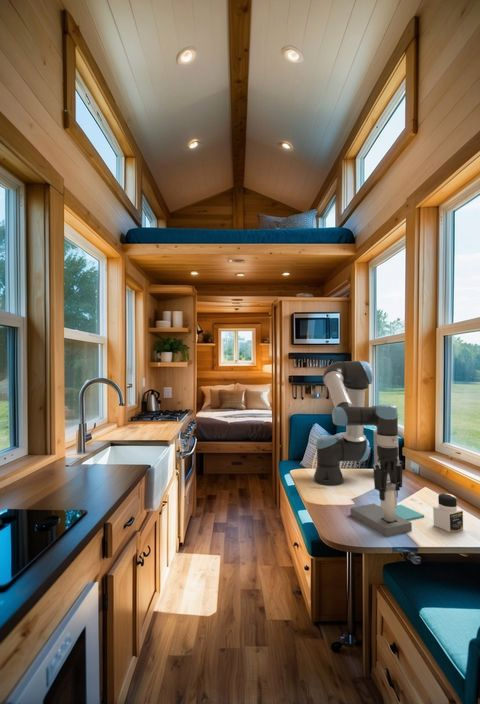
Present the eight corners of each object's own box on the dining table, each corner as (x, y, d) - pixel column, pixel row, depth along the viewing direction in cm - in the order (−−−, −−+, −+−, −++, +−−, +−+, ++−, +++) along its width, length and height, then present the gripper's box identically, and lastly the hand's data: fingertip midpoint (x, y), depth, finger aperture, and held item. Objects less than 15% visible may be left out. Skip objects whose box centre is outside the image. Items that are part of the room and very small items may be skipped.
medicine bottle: (450, 533, 131) (449, 500, 131) (433, 525, 137) (432, 493, 138) (463, 529, 134) (462, 496, 134) (446, 521, 140) (445, 490, 141)
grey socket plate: (350, 515, 147) (350, 507, 148) (373, 510, 152) (373, 503, 152) (386, 536, 129) (386, 528, 129) (411, 530, 133) (411, 522, 133)
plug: (379, 517, 137) (378, 482, 137) (389, 515, 139) (388, 480, 139) (389, 523, 132) (388, 486, 133) (399, 520, 134) (398, 484, 135)
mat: (379, 510, 152) (379, 508, 152) (401, 506, 156) (401, 504, 156) (401, 522, 140) (401, 520, 140) (424, 517, 145) (424, 515, 145)
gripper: (376, 450, 130) (378, 515, 129) (412, 445, 136) (413, 507, 135) (362, 445, 137) (364, 507, 136) (397, 441, 143) (398, 500, 142)
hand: (388, 507), depth 136 cm, fingers closed on plug, 4 cm apart
